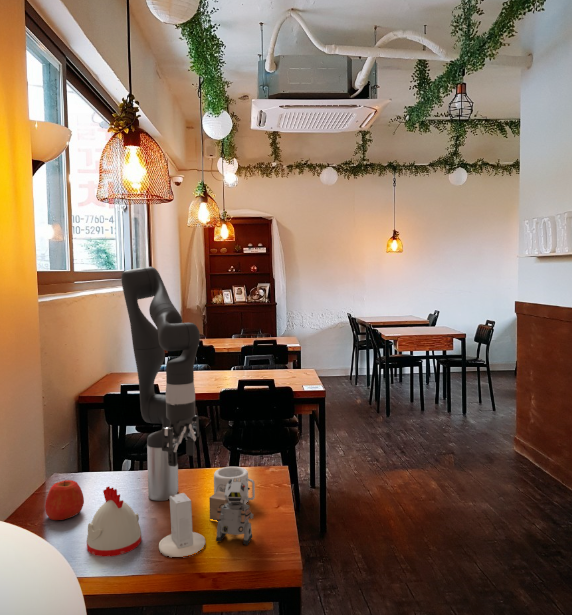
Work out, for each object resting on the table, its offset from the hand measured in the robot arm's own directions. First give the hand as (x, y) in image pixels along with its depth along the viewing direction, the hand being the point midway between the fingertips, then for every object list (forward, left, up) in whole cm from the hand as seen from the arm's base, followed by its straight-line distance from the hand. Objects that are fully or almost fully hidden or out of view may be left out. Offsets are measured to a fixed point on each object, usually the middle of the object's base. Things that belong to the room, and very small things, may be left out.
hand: (181, 460), depth 139 cm
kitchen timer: (+5, -18, -23) cm, 30 cm away
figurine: (-9, +11, -23) cm, 27 cm away
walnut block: (-18, +2, -23) cm, 29 cm away
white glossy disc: (0, 0, -23) cm, 23 cm away
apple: (-3, -43, -23) cm, 49 cm away
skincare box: (0, 0, -22) cm, 22 cm away
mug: (-29, +1, -23) cm, 37 cm away
